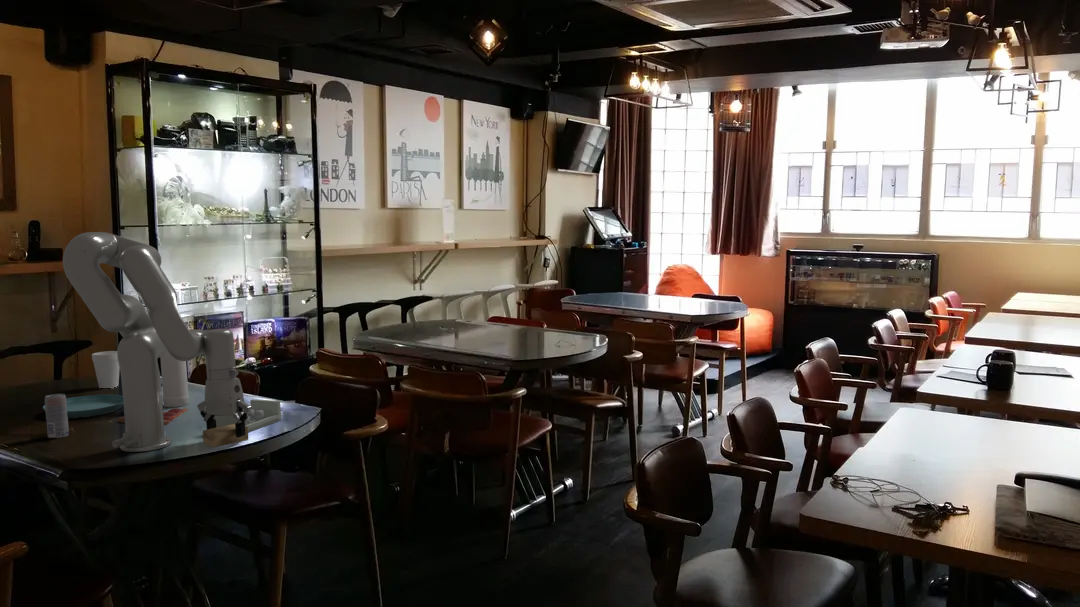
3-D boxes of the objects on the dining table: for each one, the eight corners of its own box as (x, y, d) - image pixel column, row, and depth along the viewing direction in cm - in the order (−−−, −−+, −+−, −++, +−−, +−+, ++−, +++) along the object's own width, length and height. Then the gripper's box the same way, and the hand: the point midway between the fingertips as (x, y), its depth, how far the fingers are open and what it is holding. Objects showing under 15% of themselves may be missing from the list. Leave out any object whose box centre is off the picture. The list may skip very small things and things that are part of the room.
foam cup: (99, 385, 323) (97, 351, 321) (125, 384, 324) (123, 350, 323) (91, 390, 313) (88, 355, 312) (118, 389, 315) (115, 354, 314)
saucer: (37, 424, 263) (36, 413, 262) (50, 408, 285) (49, 399, 285) (124, 415, 272) (123, 405, 271) (129, 401, 294) (129, 391, 294)
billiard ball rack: (115, 417, 261) (164, 404, 280) (116, 424, 261) (165, 410, 280) (163, 421, 255) (210, 406, 274) (163, 428, 255) (210, 413, 274)
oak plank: (214, 448, 230) (213, 433, 229) (203, 444, 234) (202, 430, 233) (248, 440, 237) (247, 426, 236) (237, 437, 241) (236, 423, 241)
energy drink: (64, 433, 249) (61, 392, 248) (72, 435, 246) (68, 394, 244) (44, 437, 245) (41, 396, 244) (52, 439, 242) (48, 398, 240)
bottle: (190, 401, 289) (185, 313, 286) (187, 406, 282) (181, 316, 279) (165, 403, 287) (159, 315, 284) (161, 408, 280) (155, 317, 277)
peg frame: (242, 435, 242) (240, 414, 241) (213, 432, 245) (212, 412, 245) (281, 420, 259) (280, 400, 258) (253, 418, 262) (252, 399, 262)
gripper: (256, 372, 234) (261, 433, 236) (205, 371, 240) (210, 430, 242) (238, 377, 227) (243, 440, 229) (186, 376, 233) (191, 437, 235)
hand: (226, 435), depth 235 cm, fingers open, 9 cm apart
